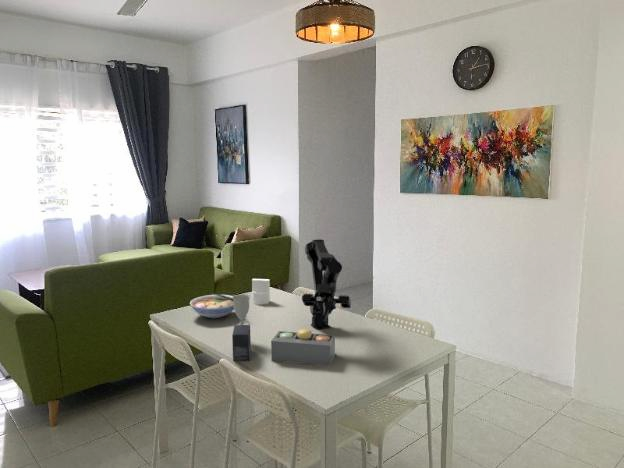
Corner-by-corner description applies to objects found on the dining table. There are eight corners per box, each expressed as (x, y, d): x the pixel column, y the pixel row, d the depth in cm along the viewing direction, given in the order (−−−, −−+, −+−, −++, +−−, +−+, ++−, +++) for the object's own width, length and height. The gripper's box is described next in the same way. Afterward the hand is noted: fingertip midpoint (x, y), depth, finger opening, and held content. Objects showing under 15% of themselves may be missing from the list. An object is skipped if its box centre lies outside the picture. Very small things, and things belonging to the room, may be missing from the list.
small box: (234, 350, 187) (233, 324, 185) (251, 349, 188) (250, 324, 186) (232, 361, 177) (231, 334, 175) (250, 361, 177) (249, 333, 176)
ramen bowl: (180, 315, 229) (179, 298, 228) (221, 305, 245) (221, 289, 243) (207, 328, 211) (206, 310, 210) (250, 317, 226) (249, 300, 225)
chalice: (236, 343, 194) (235, 300, 191) (231, 337, 200) (230, 295, 197) (253, 340, 198) (252, 297, 195) (247, 334, 203) (246, 293, 201)
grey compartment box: (279, 349, 188) (278, 331, 187) (334, 354, 184) (334, 335, 182) (271, 360, 178) (271, 340, 177) (330, 365, 173) (330, 345, 172)
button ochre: (299, 336, 184) (299, 328, 184) (312, 337, 183) (312, 329, 183) (296, 341, 179) (296, 333, 179) (309, 342, 178) (309, 334, 178)
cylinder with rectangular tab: (250, 304, 247) (249, 281, 245) (255, 299, 256) (254, 277, 254) (267, 305, 246) (267, 282, 244) (271, 300, 254) (271, 277, 252)
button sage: (281, 339, 186) (281, 332, 185) (294, 340, 185) (294, 333, 184) (278, 344, 181) (277, 336, 180) (291, 345, 180) (291, 337, 179)
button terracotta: (317, 342, 183) (317, 334, 183) (330, 343, 182) (330, 335, 182) (314, 347, 178) (314, 339, 178) (328, 348, 177) (328, 340, 176)
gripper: (302, 274, 189) (295, 310, 180) (349, 275, 184) (344, 312, 175) (308, 287, 197) (301, 322, 189) (353, 289, 193) (348, 325, 184)
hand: (323, 320), depth 184 cm, fingers closed
